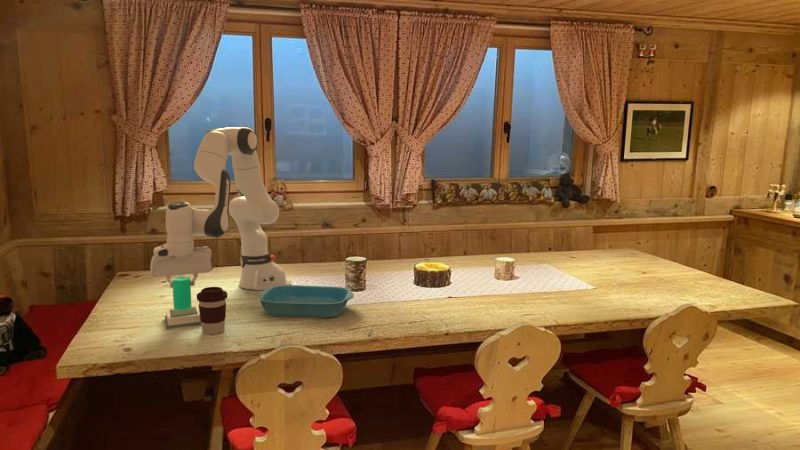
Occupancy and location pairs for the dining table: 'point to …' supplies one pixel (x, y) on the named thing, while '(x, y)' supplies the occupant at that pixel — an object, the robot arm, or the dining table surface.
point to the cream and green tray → (182, 317)
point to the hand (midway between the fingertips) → (182, 286)
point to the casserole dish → (305, 300)
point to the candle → (181, 293)
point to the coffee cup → (212, 309)
